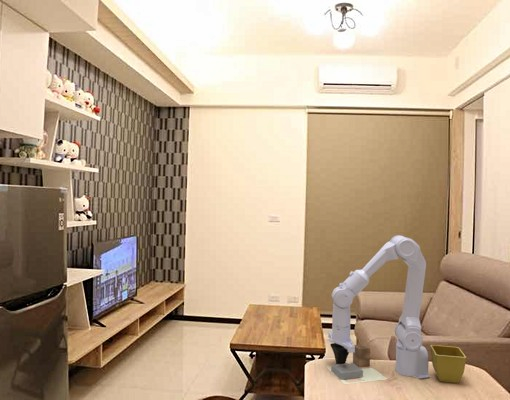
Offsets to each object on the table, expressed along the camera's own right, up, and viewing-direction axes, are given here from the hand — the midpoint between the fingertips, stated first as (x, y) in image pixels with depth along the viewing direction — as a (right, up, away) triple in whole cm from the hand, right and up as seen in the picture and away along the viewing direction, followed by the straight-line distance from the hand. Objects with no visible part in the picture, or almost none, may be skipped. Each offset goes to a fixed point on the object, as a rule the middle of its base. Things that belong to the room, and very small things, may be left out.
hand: (340, 366), depth 137 cm
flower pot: (+32, -2, -4) cm, 33 cm away
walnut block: (+7, -1, +3) cm, 8 cm away
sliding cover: (+1, -1, -4) cm, 4 cm away
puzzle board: (+4, -2, -3) cm, 5 cm away
